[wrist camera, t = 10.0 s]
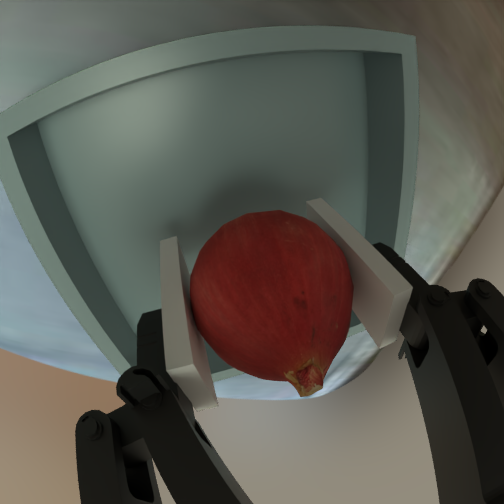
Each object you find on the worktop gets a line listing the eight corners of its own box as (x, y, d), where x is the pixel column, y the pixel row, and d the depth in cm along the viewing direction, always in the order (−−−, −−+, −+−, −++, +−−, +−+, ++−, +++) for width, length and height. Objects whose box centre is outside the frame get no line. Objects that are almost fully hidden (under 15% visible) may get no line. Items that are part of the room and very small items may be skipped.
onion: (325, 202, 14) (440, 320, 7) (274, 296, 16) (337, 426, 10) (208, 162, 11) (275, 304, 5) (168, 278, 14) (188, 442, 7)
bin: (365, 37, 12) (415, 36, 9) (362, 285, 22) (389, 319, 19) (24, 110, 10) (-17, 125, 6) (140, 352, 20) (142, 397, 17)
